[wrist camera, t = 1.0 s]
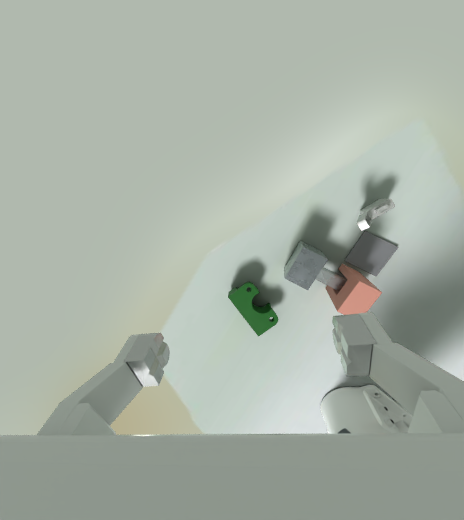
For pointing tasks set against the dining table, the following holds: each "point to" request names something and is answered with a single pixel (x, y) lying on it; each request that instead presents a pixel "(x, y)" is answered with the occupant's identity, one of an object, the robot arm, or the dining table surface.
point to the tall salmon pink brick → (353, 293)
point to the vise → (310, 268)
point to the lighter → (373, 212)
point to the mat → (371, 253)
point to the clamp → (252, 308)
